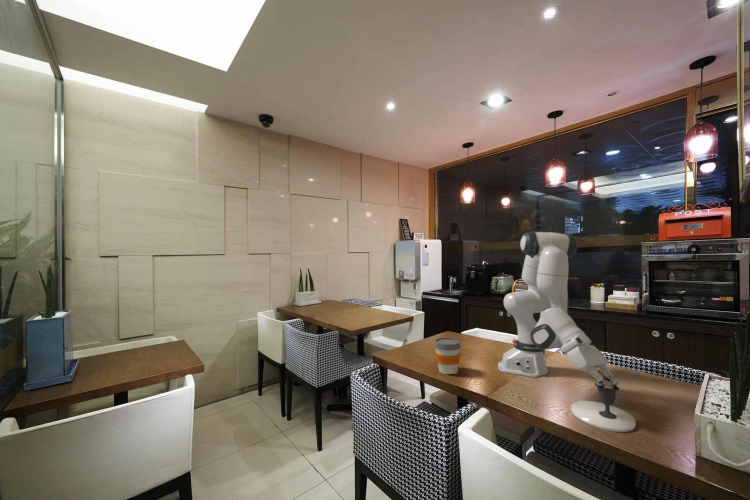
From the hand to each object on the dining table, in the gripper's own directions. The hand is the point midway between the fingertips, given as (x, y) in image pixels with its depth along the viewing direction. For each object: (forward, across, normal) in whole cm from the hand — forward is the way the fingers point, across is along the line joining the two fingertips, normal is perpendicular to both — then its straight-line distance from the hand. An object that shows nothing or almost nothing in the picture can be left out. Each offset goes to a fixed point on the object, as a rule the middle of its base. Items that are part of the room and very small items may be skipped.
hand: (606, 379), depth 105 cm
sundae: (+9, 0, -8) cm, 12 cm away
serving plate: (+9, 0, -10) cm, 13 cm away
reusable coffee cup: (-31, +8, -56) cm, 65 cm away
